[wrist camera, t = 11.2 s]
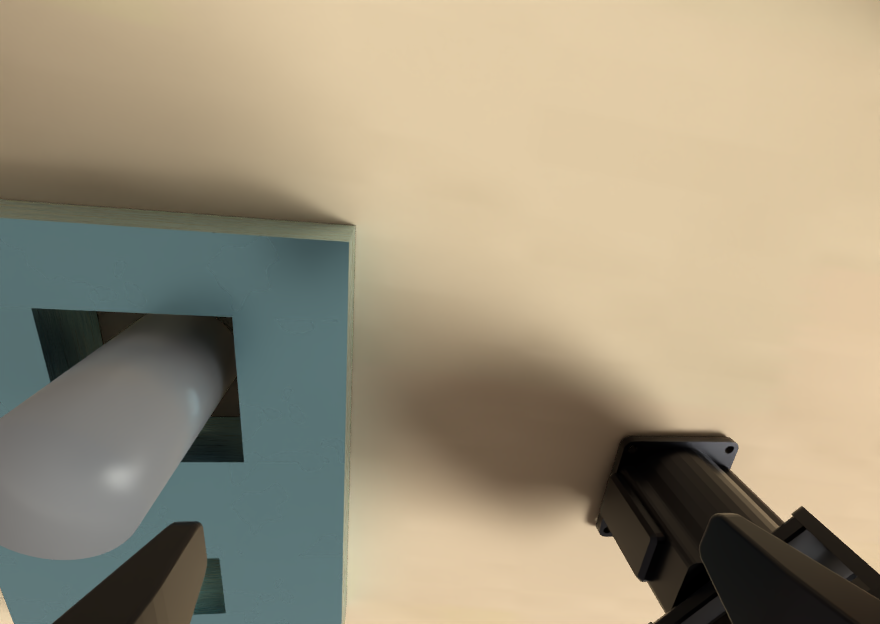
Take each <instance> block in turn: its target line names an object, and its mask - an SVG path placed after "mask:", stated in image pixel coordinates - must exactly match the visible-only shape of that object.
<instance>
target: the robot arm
mask: <svg viewBox="0 0 880 624" xmlns="http://www.w3.org/2000/svg"><path fill="white" fill-rule="evenodd" d="M632 445H633V446H632ZM630 446H632V447H630ZM629 447H630V448H629ZM737 451H738V444H737V443H736V442H734V441H733V440H732V439H731V438H728V437H661V436H629V437H626V438H624V439H623V440H622V441H621V443H620V445H619V448H618V452H617V455H616V459H615V462H614V465H613V469H612V472H611V476H610V477H609V480H608V484H607V487H606V490H605V494H604V497H603V501H602V504H601V507H600V513H599V516H598V520H597V523H596V528H597V529H598V531H599V533H600V535H602V536H605V537H611V536H613V537H614V539H615V540H616V542H617V544H618V546H619V547H620V549H621V551H622V553H623V555H624V556H625V558H626V560H627V562H628V563H629V565H630V567H631V569H632V570H633V572H634V574H635V576H636V577H637V578H638V579H639V580H640V581H642V582H647V583H648V584H649V586H650V588H651V589H652V591H653V593H654V595H655V596H656V598H657V600H658V601H659V603H660V605H661V607H662V608H663V610H664V612H665V613H666V614H664V615H663V616H662V617H661V618H659V619H658V620H657V621H655V622H654V623H652V622H650V623H648V624H880V574H878V573H877V572H876V571H875V570H874V569H873V568H872V567H871V566H869V565H868V564H867V563H866V562H865V561H864V560H863V559H861V558H860V557H859V556H858V555H857V554H856V553H855V552H854V551H852V550H851V549H850V548H849V547H848V546H847V545H846V544H844V543H843V542H842V541H841V540H840V539H839V538H838V537H837V536H835V535H834V534H833V533H832V532H831V531H830V530H829V529H827V528H826V527H825V526H824V525H823V524H822V523H821V522H820V521H818V520H817V519H816V518H815V517H814V516H813V515H812V514H810V513H809V512H808V511H807V510H806V509H805V508H804V507H803V506H801V507H800V508H799V509H797V510H796V511H795V512H793V513H792V515H793V517H792V518H790V519H789V520H788V521H786V522H783V521H782V520H781V519H780V518H779V517H778V516H777V515H776V514H775V513H774V512H773V511H772V510H771V509H770V508H769V507H768V506H767V505H766V504H765V503H764V502H763V501H762V500H761V499H760V498H759V497H758V496H757V495H756V494H755V493H753V492H752V491H751V490H750V489H749V488H748V487H747V486H746V485H745V484H744V483H743V482H742V481H741V480H740V479H739V478H738V477H737V476H736V475H735V474H734V473H733V472H732V471H731V470H730V468H731V466H732V463H733V461H734V458H735V456H736V453H737ZM206 567H207V553H206V545H205V538H204V530H203V526H202V524H201V523H200V522H198V521H178V522H173V523H172V524H170V525H168V526H167V527H166V528H165V529H163V530H162V531H161V532H160V533H159V534H157V535H156V536H155V537H154V538H153V539H152V540H150V541H149V542H148V543H147V544H146V545H144V546H143V547H142V548H141V549H140V550H138V551H137V552H136V553H135V554H134V555H133V556H131V557H130V558H129V559H128V560H127V561H125V562H124V563H123V564H122V565H121V566H119V567H118V568H117V569H116V570H115V571H114V572H112V573H111V574H110V575H109V576H108V577H106V578H105V579H104V580H103V581H102V582H101V583H99V584H98V585H97V586H96V587H95V588H93V589H92V590H91V591H90V592H89V593H87V594H86V595H85V596H84V597H83V598H82V599H80V600H79V601H78V602H77V603H76V604H74V605H73V606H72V607H71V608H70V609H68V610H67V611H66V612H65V613H64V614H63V615H61V616H60V617H59V618H58V619H57V620H55V621H54V622H53V623H52V624H190V622H191V619H192V616H193V612H194V609H195V606H196V603H197V599H198V596H199V593H200V589H201V586H202V583H203V579H204V576H205V572H206Z"/></svg>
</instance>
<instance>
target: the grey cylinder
mask: <svg viewBox="0 0 880 624" xmlns="http://www.w3.org/2000/svg"><path fill="white" fill-rule="evenodd" d="M236 376H237V370H236V357H235V345H234V336H233V334H232V333H231V332H230V330H229V329H228V328H227V327H226V326H225V325H224V324H223V323H222V322H221V321H219V320H218V319H217V318H215V317H214V316H196V315H173V314H151V313H148V314H146V315H145V316H143V317H142V318H140V319H139V320H138V321H136V322H135V323H133V324H132V325H131V326H129V327H128V328H126V329H125V330H124V331H122V332H121V333H119V334H118V335H117V336H115V337H114V338H112V339H111V340H109V341H108V342H107V343H105V344H104V345H102V346H101V347H100V348H98V349H97V350H95V351H94V352H93V353H91V354H90V355H88V356H87V357H86V358H84V359H83V360H81V361H80V362H79V363H77V364H76V365H74V366H73V367H72V368H70V369H69V370H67V371H66V372H65V373H63V374H62V375H60V376H59V377H58V378H56V379H55V380H53V381H52V382H51V383H49V384H48V385H46V386H45V387H43V388H42V389H41V390H39V391H38V392H36V393H35V394H34V395H32V396H31V397H29V398H28V399H27V400H25V401H24V402H22V403H21V404H20V405H18V406H17V407H15V408H14V409H13V410H11V411H10V412H8V413H7V414H6V415H4V416H3V417H1V418H0V546H3V547H5V548H7V549H9V550H12V551H15V552H18V553H21V554H25V555H28V556H32V557H37V558H43V559H52V560H76V559H84V558H90V557H94V556H98V555H101V554H104V553H106V552H109V551H111V550H113V549H115V548H117V547H119V546H120V545H121V544H123V543H124V542H126V541H127V540H128V539H129V538H130V537H131V536H132V535H133V533H134V532H135V531H136V529H137V528H138V526H139V525H140V523H141V522H142V520H143V519H144V517H145V516H146V514H147V513H148V511H149V510H150V508H151V506H152V505H153V503H154V502H155V500H156V499H157V497H158V496H159V494H160V493H161V491H162V490H163V488H164V487H165V485H166V483H167V482H168V480H169V479H170V477H171V476H172V474H173V473H174V471H175V470H176V468H177V467H178V465H179V464H180V462H181V460H182V459H183V457H184V456H185V454H186V453H187V451H188V450H189V448H190V447H191V445H192V444H193V442H194V441H195V439H196V437H197V436H198V434H199V433H200V431H201V430H202V428H203V427H204V425H205V424H206V422H207V421H208V419H209V418H210V416H211V414H212V413H213V411H214V410H215V408H216V407H217V405H218V404H219V402H220V401H221V399H222V398H223V396H224V394H225V393H226V391H227V390H228V388H229V387H230V385H231V384H232V382H233V381H234V379H235V377H236Z"/></svg>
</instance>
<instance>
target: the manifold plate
mask: <svg viewBox="0 0 880 624" xmlns="http://www.w3.org/2000/svg"><path fill="white" fill-rule="evenodd" d="M355 232H356V226H354V225H340V224H327V223H314V222H300V221H287V220H273V219H260V218H246V217H233V216H219V215H206V214H192V213H179V212H165V211H152V210H138V209H125V208H111V207H98V206H84V205H71V204H58V203H44V202H31V201H17V200H4V199H0V418H1V417H3V416H4V415H6V414H7V413H8V412H10V411H11V410H13V409H14V408H15V407H17V406H18V405H20V404H21V403H22V402H24V401H25V400H27V399H28V398H29V397H31V396H32V395H34V394H35V393H36V392H38V391H39V390H41V389H42V388H43V387H45V386H46V385H48V384H49V383H51V382H52V381H53V380H55V379H56V378H58V377H59V376H60V375H62V374H63V373H65V372H66V371H67V370H69V369H70V368H72V367H73V366H74V365H76V364H77V363H79V362H80V361H81V360H83V359H84V358H86V357H87V356H88V355H90V354H91V353H93V352H94V351H95V350H97V349H98V348H100V347H101V346H102V345H103V342H102V337H101V332H100V327H99V322H98V317H97V312H96V311H106V312H129V313H151V314H173V315H196V316H218V317H232V321H233V333H234V345H235V357H236V370H237V382H238V394H239V406H240V417H210V418H209V419H208V421H207V422H206V424H205V425H204V427H203V428H202V430H201V431H200V433H199V434H198V436H197V437H196V439H195V441H194V442H193V444H192V445H191V447H190V448H189V450H188V451H187V453H186V454H185V456H184V457H183V459H182V460H181V462H180V464H179V465H178V467H177V468H176V470H175V471H174V473H173V474H172V476H171V477H170V479H169V480H168V482H167V483H166V485H165V487H164V488H163V490H162V491H161V493H160V494H159V496H158V497H157V499H156V500H155V502H154V503H153V505H152V506H151V508H150V510H149V511H148V513H147V514H146V516H145V517H144V519H143V520H142V522H141V523H140V525H139V526H138V528H137V529H136V531H135V532H134V533H133V535H132V536H131V537H130V538H129V539H128V540H127V541H126V542H124V543H123V544H121V545H120V546H119V547H117V548H115V549H113V550H111V551H109V552H106V553H104V554H101V555H98V556H94V557H90V558H84V559H76V560H52V559H43V558H37V557H32V556H28V555H25V554H21V553H18V552H15V551H12V550H9V549H7V548H5V547H3V546H0V588H1V591H2V593H3V596H4V599H5V601H6V604H7V607H8V609H9V612H10V614H11V617H12V620H13V622H14V624H52V623H53V622H54V621H55V620H57V619H58V618H59V617H60V616H61V615H63V614H64V613H65V612H66V611H67V610H68V609H70V608H71V607H72V606H73V605H74V604H76V603H77V602H78V601H79V600H80V599H82V598H83V597H84V596H85V595H86V594H87V593H89V592H90V591H91V590H92V589H93V588H95V587H96V586H97V585H98V584H99V583H101V582H102V581H103V580H104V579H105V578H106V577H108V576H109V575H110V574H111V573H112V572H114V571H115V570H116V569H117V568H118V567H119V566H121V565H122V564H123V563H124V562H125V561H127V560H128V559H129V558H130V557H131V556H133V555H134V554H135V553H136V552H137V551H138V550H140V549H141V548H142V547H143V546H144V545H146V544H147V543H148V542H149V541H150V540H152V539H153V538H154V537H155V536H156V535H157V534H159V533H160V532H161V531H162V530H163V529H165V528H166V527H167V526H168V525H170V524H172V523H173V522H178V521H198V522H200V523H201V524H202V526H203V530H204V538H205V545H206V553H207V567H206V572H205V576H204V579H203V583H202V586H201V589H200V593H199V596H198V599H197V603H196V606H195V609H194V612H193V616H192V619H191V622H190V624H345V615H346V594H347V554H348V514H349V473H350V433H351V393H352V353H353V312H354V272H355Z"/></svg>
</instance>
